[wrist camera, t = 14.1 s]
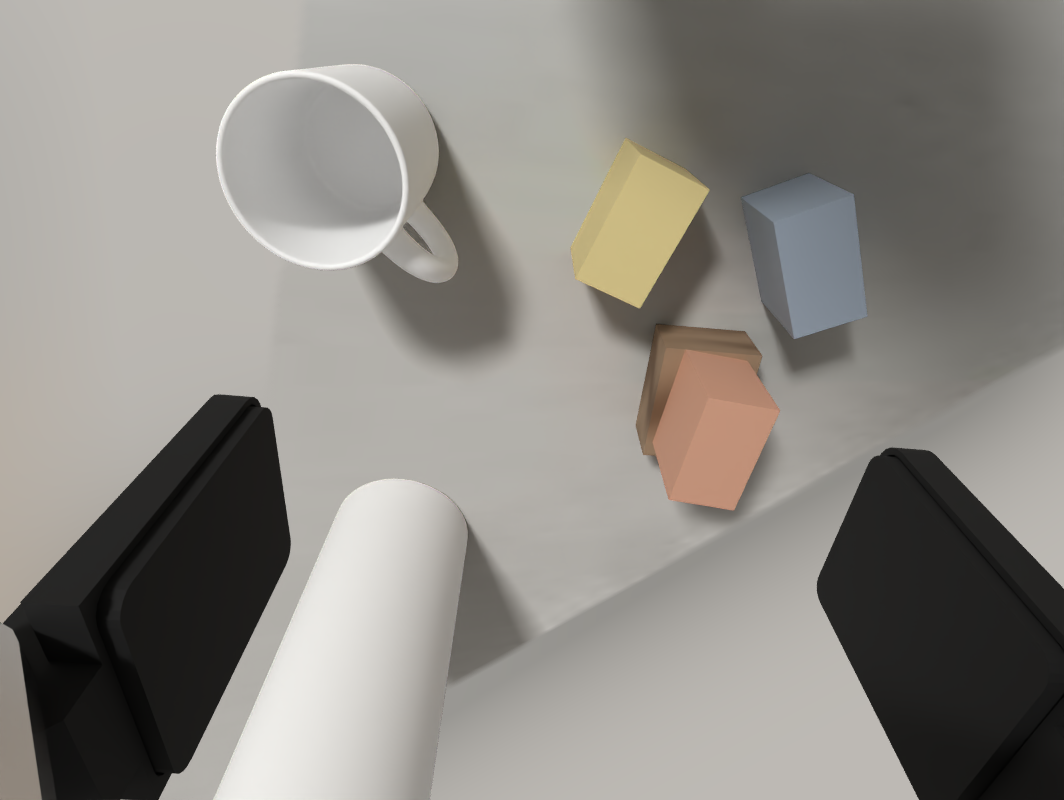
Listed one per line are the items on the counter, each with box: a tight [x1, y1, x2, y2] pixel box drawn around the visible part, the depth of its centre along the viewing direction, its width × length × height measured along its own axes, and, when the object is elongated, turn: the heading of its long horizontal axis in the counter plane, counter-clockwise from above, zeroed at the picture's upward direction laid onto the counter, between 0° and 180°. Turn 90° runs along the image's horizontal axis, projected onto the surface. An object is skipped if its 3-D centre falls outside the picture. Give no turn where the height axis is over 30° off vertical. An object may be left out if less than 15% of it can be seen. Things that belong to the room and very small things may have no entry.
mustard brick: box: [571, 138, 710, 308], centre depth 35 cm, size 7×4×6 cm, turn 155°
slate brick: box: [741, 173, 867, 339], centre depth 36 cm, size 7×4×6 cm, turn 20°
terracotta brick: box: [653, 349, 780, 510], centre depth 37 cm, size 7×4×6 cm, turn 169°
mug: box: [216, 64, 458, 283], centre depth 32 cm, size 12×8×10 cm
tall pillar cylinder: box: [213, 479, 468, 800], centre depth 39 cm, size 11×11×25 cm
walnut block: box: [636, 324, 762, 456], centre depth 42 cm, size 8×6×4 cm
